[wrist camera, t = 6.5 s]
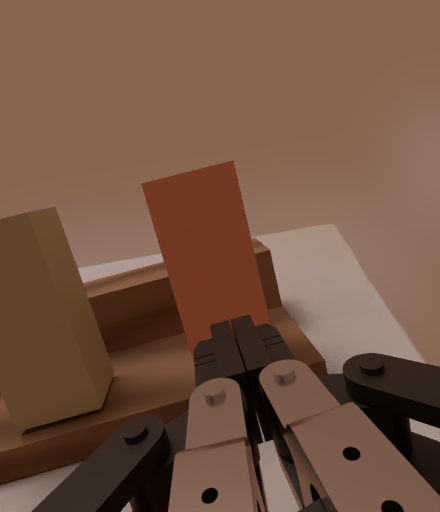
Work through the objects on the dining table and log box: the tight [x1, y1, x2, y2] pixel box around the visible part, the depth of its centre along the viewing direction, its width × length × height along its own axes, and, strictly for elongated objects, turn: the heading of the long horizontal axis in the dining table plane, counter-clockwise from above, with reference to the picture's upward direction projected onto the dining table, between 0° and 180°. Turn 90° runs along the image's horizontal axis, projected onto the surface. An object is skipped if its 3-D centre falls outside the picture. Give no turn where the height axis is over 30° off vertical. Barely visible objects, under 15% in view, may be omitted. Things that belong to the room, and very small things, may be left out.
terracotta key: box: [141, 161, 271, 362], centre depth 21 cm, size 4×5×12 cm
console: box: [0, 238, 327, 484], centre depth 26 cm, size 15×32×7 cm, turn 96°
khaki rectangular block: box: [0, 207, 114, 432], centre depth 21 cm, size 4×5×12 cm
